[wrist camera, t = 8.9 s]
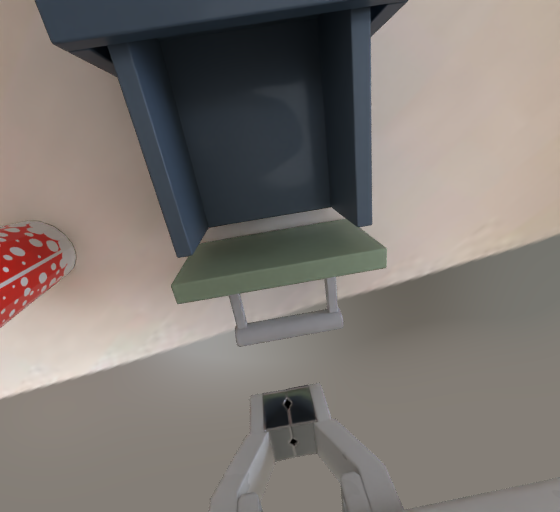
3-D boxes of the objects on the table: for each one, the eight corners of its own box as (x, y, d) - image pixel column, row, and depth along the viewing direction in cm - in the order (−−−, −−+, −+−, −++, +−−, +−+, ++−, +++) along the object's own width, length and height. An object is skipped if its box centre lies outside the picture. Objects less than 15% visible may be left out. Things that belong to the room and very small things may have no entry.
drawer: (351, 288, 22) (386, 339, 16) (215, 312, 21) (201, 372, 16) (338, 6, 15) (393, -88, 9) (134, 36, 14) (52, -41, 8)
